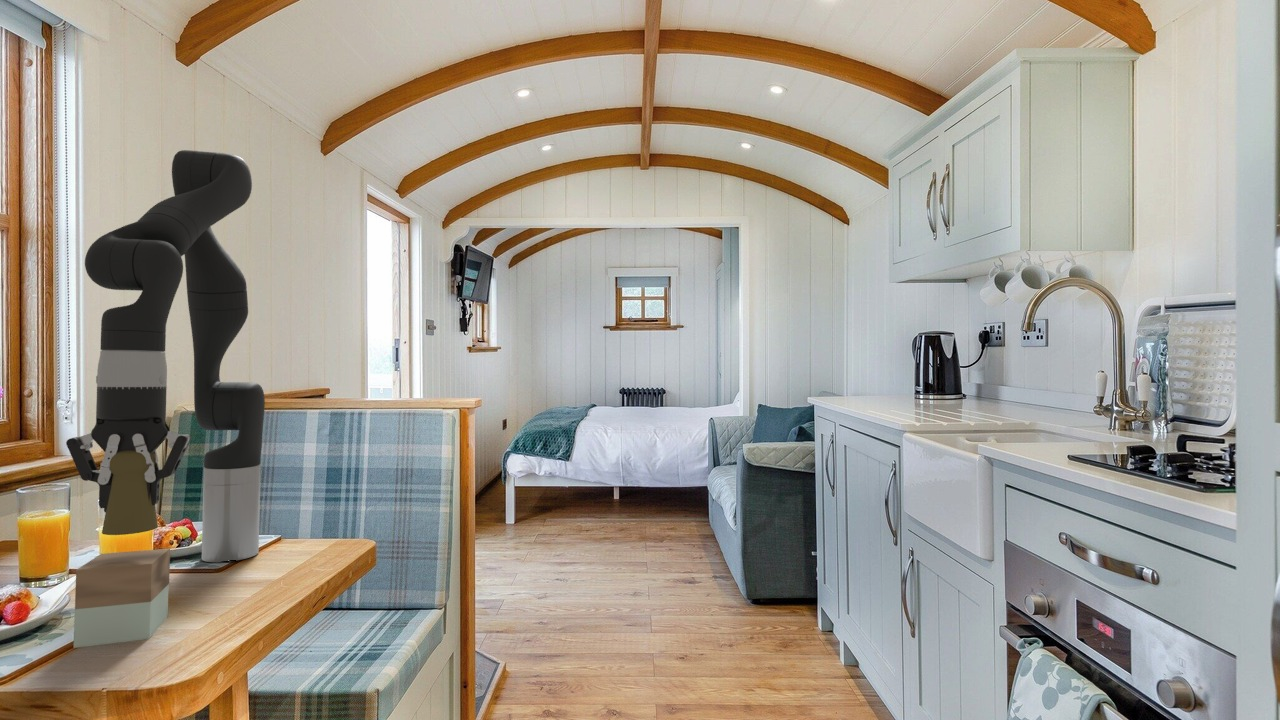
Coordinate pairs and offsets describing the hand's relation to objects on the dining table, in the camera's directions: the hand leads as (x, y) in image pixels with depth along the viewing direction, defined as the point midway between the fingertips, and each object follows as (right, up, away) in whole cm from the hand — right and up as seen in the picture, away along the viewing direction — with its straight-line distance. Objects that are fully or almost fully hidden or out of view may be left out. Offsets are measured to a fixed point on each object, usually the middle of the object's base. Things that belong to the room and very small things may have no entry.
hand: (129, 509), depth 88 cm
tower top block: (0, -12, -1) cm, 12 cm away
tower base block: (0, -17, -1) cm, 17 cm away
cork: (0, -3, 0) cm, 3 cm away
